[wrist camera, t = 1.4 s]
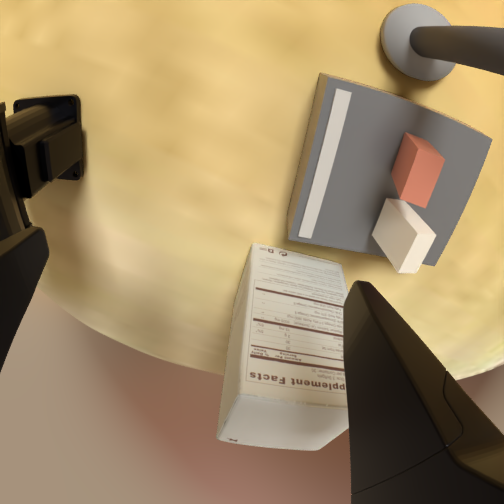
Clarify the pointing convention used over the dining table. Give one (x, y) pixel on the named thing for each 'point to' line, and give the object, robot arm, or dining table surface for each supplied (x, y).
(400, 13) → the stand
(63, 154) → the robot arm
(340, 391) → the supplement box
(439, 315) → the dining table surface
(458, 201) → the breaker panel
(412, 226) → the cream flat brick
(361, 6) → the dining table surface
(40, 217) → the dining table surface
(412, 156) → the terracotta brick
